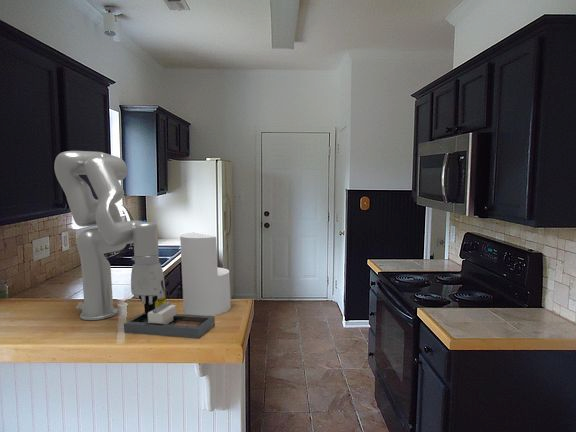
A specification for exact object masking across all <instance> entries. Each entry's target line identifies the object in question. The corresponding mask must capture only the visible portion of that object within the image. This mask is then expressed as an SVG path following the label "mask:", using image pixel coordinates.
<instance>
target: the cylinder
mask: <svg viewBox="0 0 576 432" xmlns="http://www.w3.org/2000/svg"><path fill="white" fill-rule="evenodd" d="M179 240H180V241H179V242H180V256H181V257H180V258H181V260H180V261H181V278H182V279H181V281H182V299H183V300H182V303H183V314H187V315H203V316H211V315H212V316H217V315H220V314H224V313H226V312H228V311H230V309H231V307H232V306H231V305H232V304H231V282H230V280H231V279H230V276H231V275H230V270H229V269H227V268H224V267H218V251H217V250H218V247H217V246H218V245H217V236H215V235H214V236H213V235H209V234H208V235H207V234H203V233H198V232H187V233H184V234H180V236H179ZM223 312H224V313H223Z"/></svg>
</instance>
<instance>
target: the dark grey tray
mask: <svg viewBox="0 0 576 432" xmlns="http://www.w3.org/2000/svg"><path fill="white" fill-rule="evenodd" d="M173 318H174V320H173V321H171V322H170V323H168V324H156V323H148V316H145V311H144V312H142V313H140V314H139V315H137V316H135V317H133V318H131V319H130V320H127V321H126V322H124V323H123V332H124V333H126V334H137V335H147V336H161V337H162V336H163V337H174V338H187V339H188V338H189V339H200V338H201V337H203V336H204V335H205V334H206V333H207V332H208V331H210V330H211V329H212V328H213V327H214V326H215V325H216V324H215V323H216V321H215V320H216V319H215V315H212V316H203V315H188V314H186V313H176V315H175V316H173Z"/></svg>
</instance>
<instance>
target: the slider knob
mask: <svg viewBox="0 0 576 432" xmlns="http://www.w3.org/2000/svg"><path fill="white" fill-rule="evenodd" d="M176 314H177V305H176V304H175V305H174V304H172V303H171V301H166V303H165V304H162V305H161V306H159V307H157V308H155V309H154V310H152V311H150V312H148V323H156V324H168V323H170V322H171V321H173V320H174V318H173V316H175V315H176Z"/></svg>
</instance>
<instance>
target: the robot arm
mask: <svg viewBox="0 0 576 432" xmlns="http://www.w3.org/2000/svg"><path fill="white" fill-rule="evenodd" d="M128 170H129V169H128V167H127V164H126V162H125V161H124V160H123V159H122V158H121V157H118V156H116V155H112V154H109V153H105V152H103V151H90V150H86V151H85V150H68V151H63V152H60V153H59V154H58V155H56V157H55V160H54V174H55V177H56V179H57V181H58V183H59V185H60V187H61V189H62V190H63V192H64V194H65V196H66V197H65V198H66V201H67V204H68V206H69V210H70V213H71V216H72V219H73V221H74V223H75V224H76V226H79V227H82V228H83V227H84V228H85V227H93V226H95V227H94V228H88V229H85V230H82V231H81V232H80V233H79V234H78V235H77V237H76V247H77V251H78V254H79V255H78V256H79V259H80V265H81V276H82V289H83V290H82V291H83V292H82V294H83V302H82V301H79V302H78V303H77V305H76V307H75V308H76V309H77V310H81V312H80V314H79V317H80V319H81V320H84V321H98V320H104V319H109V318H113V317H114V316H117V314H118V313H119V309H118V308H117V307H115V306H114V300H113V297H114V296H113V282H112V269H111V263H110V262H109V260H108V259H107V258H106V256H105V255H104V254H108V253H113V252H119V251H122V250H124V248H126V246H127V245H128V244H133V253H134V254H133V256H131V261H134V264H132V267H131V273H130V291H131V295H133V297H135V298H137V299H139V300H140V301H141V303H142V304H143V308H144V312H145V316H148V312H150V311H152V310H154V309H155V302H156V301H157V300H158V299H160V298H163V297H165V295H164V291H165V292H166V286H165V285H166V283H165V275H164V270H163V267H162V263H160V256H159V255H160V253H159V237H158V235H159V234H158V225H157V223H156V222H153V221H143V220H142V221H141V220H135V219H134V220H125V221H123V220H122V217H121V213H120V211H119V208H118V206H117V203H119V202H120V201H121V200H122V199H123V198H124V195H125V191H124V188H123V186H122V185H121V183H120V181H123V180H124V179H125V178H126V177H127V176H128ZM81 175H82V176H83V175H85V176H86V177H87V179H88V181H89V183H90V185H91V187H92V189H93V191H94V193H95V195H96V197H97V199H96V198H95V197H94V196H93V193H92V190H91V187H90V185H89V184H88V183H87V182H86V181H85V180H84V179H83V178H81ZM96 226H97V227H96Z"/></svg>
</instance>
